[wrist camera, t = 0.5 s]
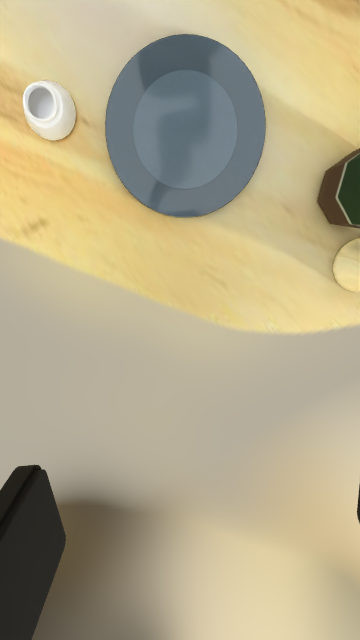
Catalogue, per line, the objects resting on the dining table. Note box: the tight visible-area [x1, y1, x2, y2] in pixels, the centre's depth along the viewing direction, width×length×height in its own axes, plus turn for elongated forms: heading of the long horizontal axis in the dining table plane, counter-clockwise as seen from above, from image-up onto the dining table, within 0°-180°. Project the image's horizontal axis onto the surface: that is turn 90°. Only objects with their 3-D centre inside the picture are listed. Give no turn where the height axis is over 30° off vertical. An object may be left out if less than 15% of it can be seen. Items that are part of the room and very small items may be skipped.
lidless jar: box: [23, 80, 76, 141], centre depth 29 cm, size 5×3×5 cm
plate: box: [105, 34, 265, 218], centre depth 30 cm, size 16×16×1 cm
